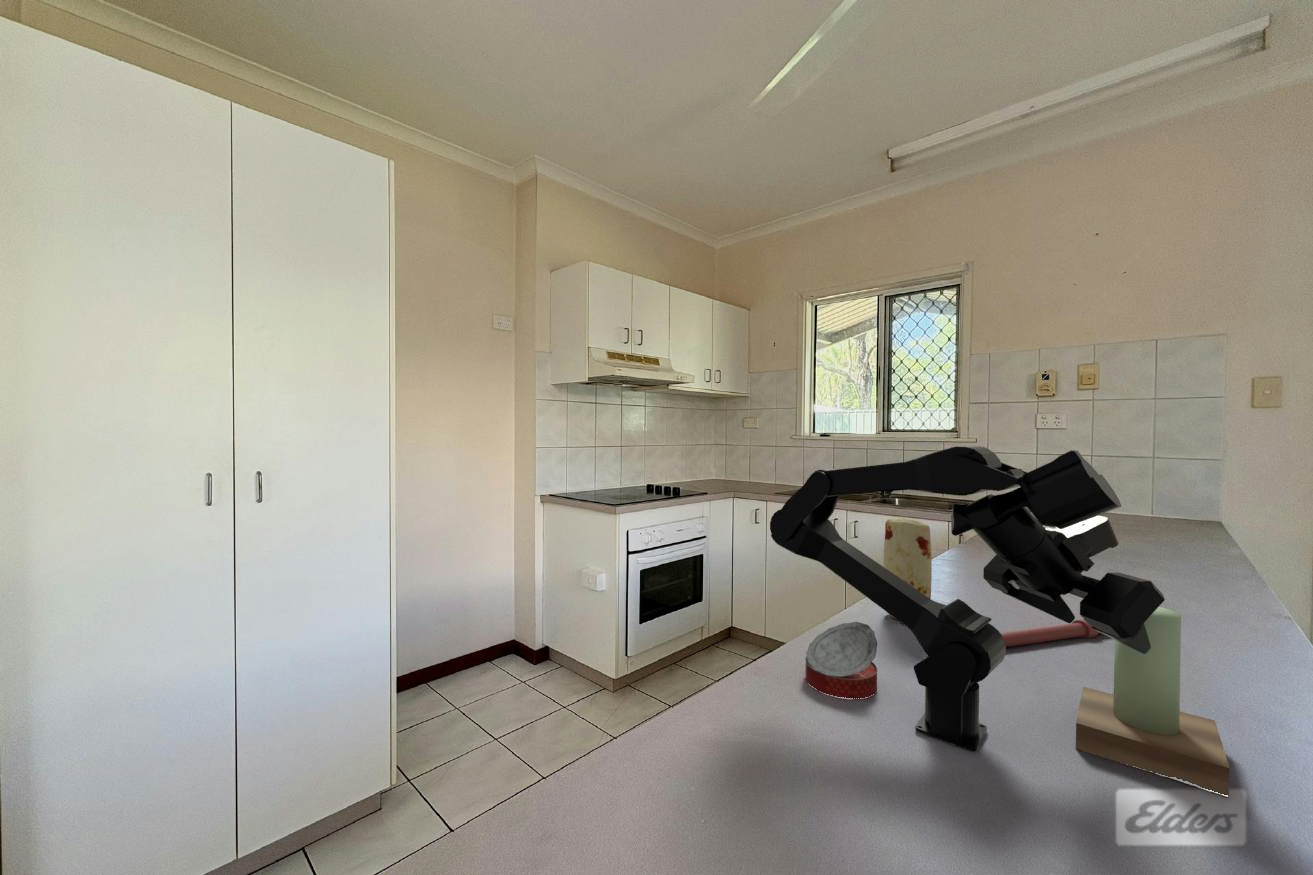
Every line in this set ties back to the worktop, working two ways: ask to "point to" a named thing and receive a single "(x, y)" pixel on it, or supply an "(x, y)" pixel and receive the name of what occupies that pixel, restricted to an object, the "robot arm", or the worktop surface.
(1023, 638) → the red collared rod
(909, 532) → the food model
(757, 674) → the worktop surface
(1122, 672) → the green cylinder
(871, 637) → the canned food
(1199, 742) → the walnut base
